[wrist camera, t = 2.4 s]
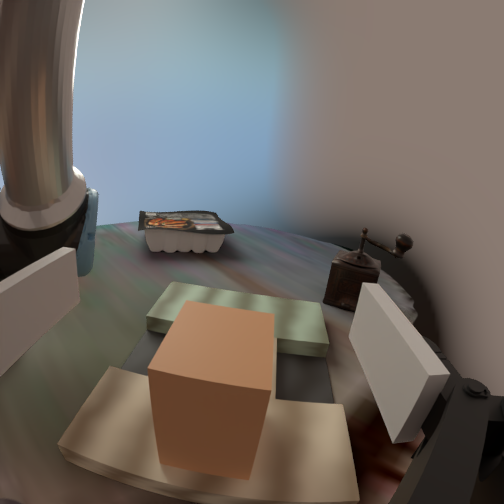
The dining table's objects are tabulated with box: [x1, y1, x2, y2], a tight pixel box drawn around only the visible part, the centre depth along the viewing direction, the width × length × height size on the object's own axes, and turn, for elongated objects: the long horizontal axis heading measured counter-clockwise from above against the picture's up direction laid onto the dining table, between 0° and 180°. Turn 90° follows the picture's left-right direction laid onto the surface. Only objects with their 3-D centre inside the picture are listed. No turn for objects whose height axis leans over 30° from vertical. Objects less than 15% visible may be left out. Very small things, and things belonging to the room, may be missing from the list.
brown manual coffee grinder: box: [323, 228, 413, 311], centre depth 63 cm, size 16×11×18 cm
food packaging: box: [138, 211, 234, 253], centre depth 90 cm, size 25×8×23 cm
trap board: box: [57, 281, 360, 504], centre depth 40 cm, size 28×40×3 cm
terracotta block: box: [147, 300, 275, 480], centre depth 25 cm, size 8×10×12 cm
